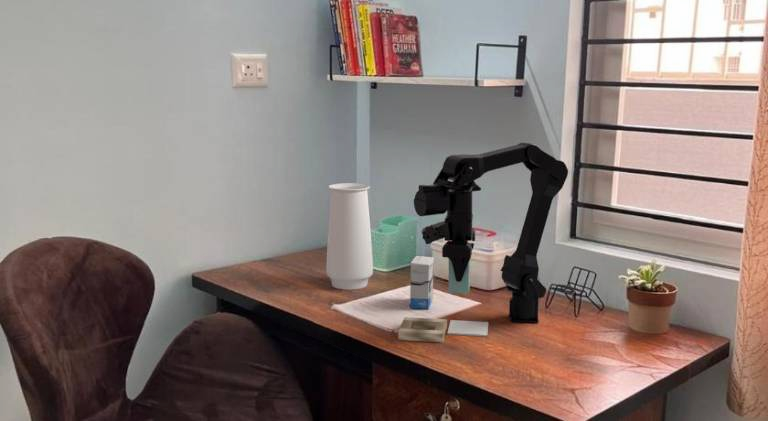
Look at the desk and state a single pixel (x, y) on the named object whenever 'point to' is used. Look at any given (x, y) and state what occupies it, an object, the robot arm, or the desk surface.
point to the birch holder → (415, 326)
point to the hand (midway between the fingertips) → (459, 278)
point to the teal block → (459, 286)
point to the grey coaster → (468, 328)
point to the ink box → (421, 282)
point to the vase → (349, 237)
